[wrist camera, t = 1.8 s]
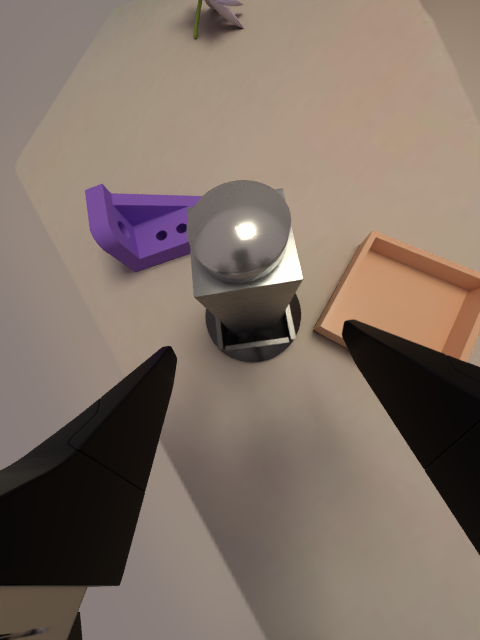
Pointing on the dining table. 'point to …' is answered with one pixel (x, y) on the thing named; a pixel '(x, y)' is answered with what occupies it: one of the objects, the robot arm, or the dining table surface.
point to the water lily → (219, 11)
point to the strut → (243, 255)
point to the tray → (407, 297)
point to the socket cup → (257, 336)
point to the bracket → (139, 226)
